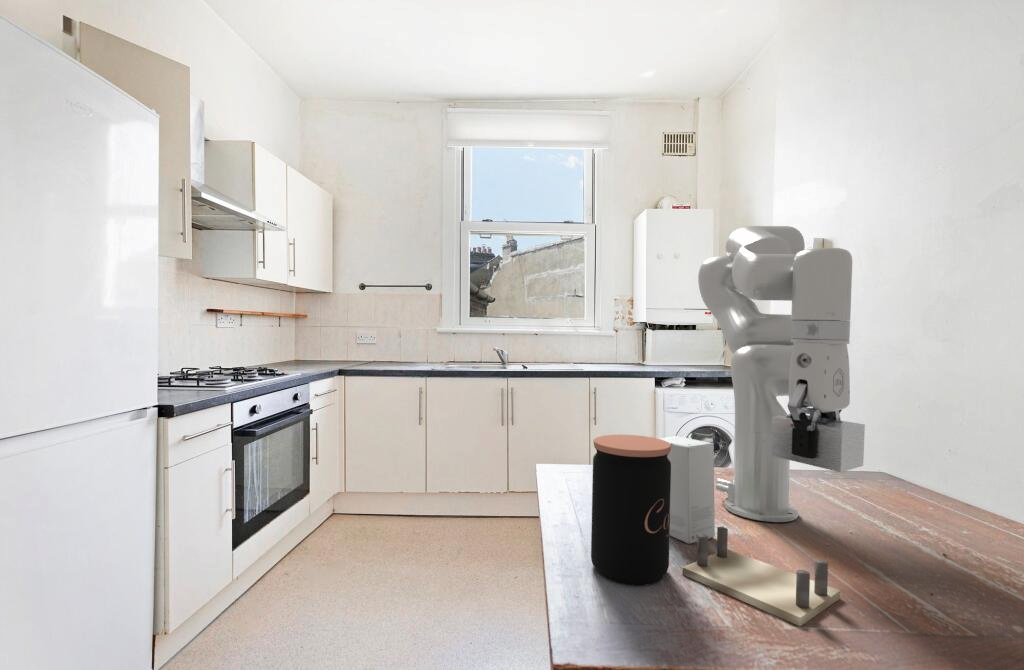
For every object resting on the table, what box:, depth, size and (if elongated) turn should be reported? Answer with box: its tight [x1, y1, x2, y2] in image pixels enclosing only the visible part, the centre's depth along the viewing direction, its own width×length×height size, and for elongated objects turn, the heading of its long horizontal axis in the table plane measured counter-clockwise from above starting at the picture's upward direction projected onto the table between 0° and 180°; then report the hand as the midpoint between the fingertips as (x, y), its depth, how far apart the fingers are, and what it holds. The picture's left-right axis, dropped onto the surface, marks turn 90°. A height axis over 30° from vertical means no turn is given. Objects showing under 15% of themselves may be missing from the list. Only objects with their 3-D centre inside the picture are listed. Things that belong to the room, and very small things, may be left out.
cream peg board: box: [681, 526, 841, 627], centre depth 69 cm, size 16×11×5 cm
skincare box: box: [658, 435, 716, 545], centre depth 87 cm, size 8×7×16 cm
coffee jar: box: [590, 434, 671, 587], centre depth 73 cm, size 11×11×18 cm
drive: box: [771, 413, 866, 473], centre depth 78 cm, size 10×6×6 cm, turn 33°
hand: (815, 451), depth 78 cm, fingers closed on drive, 6 cm apart
